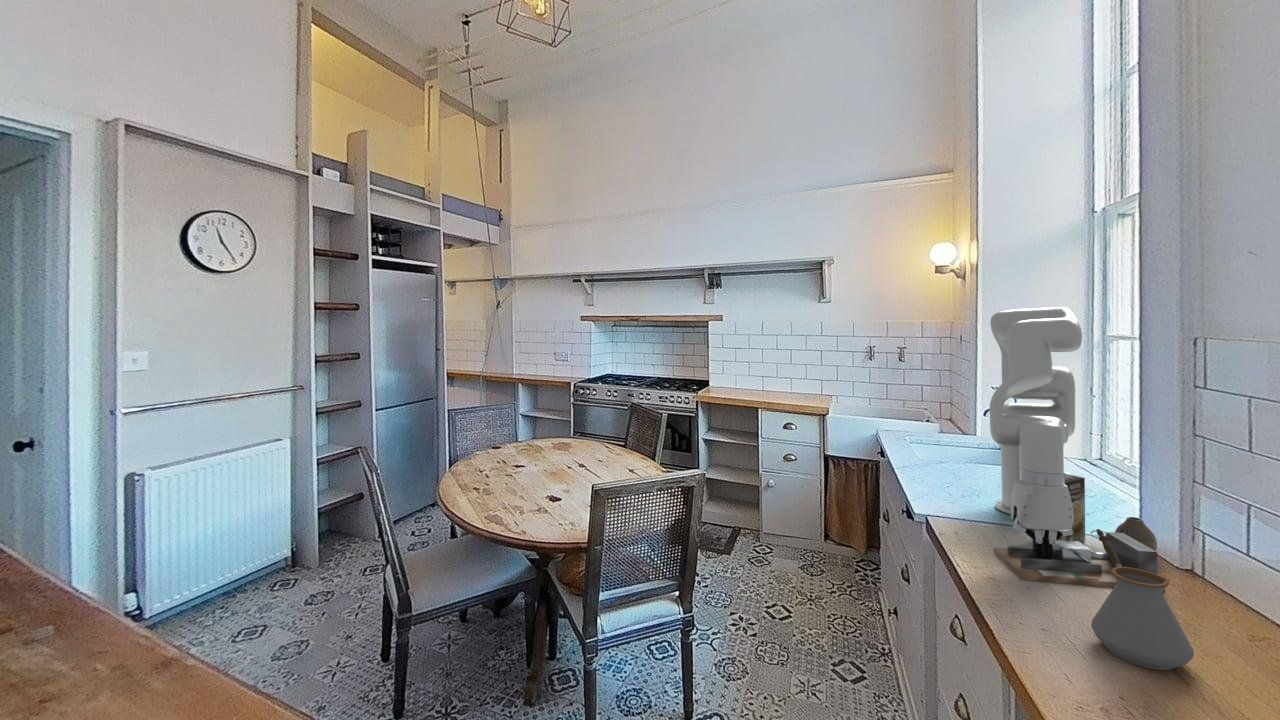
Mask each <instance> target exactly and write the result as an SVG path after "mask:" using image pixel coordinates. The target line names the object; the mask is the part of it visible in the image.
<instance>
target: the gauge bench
mask: <svg viewBox="0 0 1280 720" xmlns="http://www.w3.org/2000/svg"><path fill="white" fill-rule="evenodd" d="M1105 533H1106V534H1105V535H1107V536H1106V537H1107V538H1108V540H1107V541H1108V542H1109V544H1110V545H1111V546H1112V547H1113V549H1114V551H1115V553H1116V555H1117V556H1118V559H1119V561H1120V563H1121V566H1122V567H1130V568H1136V569H1141V570H1145V571H1148V572H1152V573H1154V574H1157V575H1158V551H1154V550H1153V549H1151V548H1149V547H1147V546H1145V545H1144V544H1142V543H1140V542H1138V541H1136V540H1135V539H1133V538H1131V537H1129V536H1127V535H1126V534H1124V533H1115V531H1114V532H1113V531H1105ZM994 552H995V553H994ZM993 553H994V554H995V555H996V556H997V557H998V558H999V559H1000V560H1002V561H1003V562H1004V563H1005V564H1006V566H1008V567H1009V568H1010V570H1012V571H1013V572H1014V573H1015V574H1016V575H1017V576H1018V577H1019V578H1020V579H1021V580H1022V581H1032V582H1044V583H1045V582H1047V583H1057V584H1058V583H1059V584H1071V585H1083V586H1084V585H1086V586H1097V587H1110V588H1114V587H1115V585H1116V584H1117V582H1116V578H1115V576H1114V575H1113V574H1112V573H1111V570H1112V569H1113V568H1115V567H1116V566H1115V565H1114V563H1113V562H1112V561H1101V560H1091V563H1086V562H1077V561H1062V560H1052V557H1051V560H1048V559H1038V558H1037V557H1036V556H1035V555H1034V553H1033V546H1019V545H1017V546H1016V545H1007V547H1006V548H1002V547H1000V548H999V547H993ZM1163 592H1166V588H1165V589H1164V591H1163Z"/></svg>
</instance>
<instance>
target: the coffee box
mask: <svg viewBox="0 0 1280 720" xmlns="http://www.w3.org/2000/svg"><path fill="white" fill-rule="evenodd" d="M1085 479H1086V477H1082V476H1078V475H1074V474H1073V475H1072V474H1071V479H1067V480H1065V483H1064V484H1065V485H1067V487H1068V490H1069V493H1070V497H1071V502H1072V508H1073V518H1074V524H1073V528H1072V531H1073V534H1072V535H1068V536H1061V537H1060V538H1059V539H1058V540H1062V541H1079V542H1080V543H1082V544H1083V543H1085V542H1086V489H1085V488H1086V484H1085V483H1086V482H1085V481H1086V480H1085ZM1041 535H1042V538H1043V530H1041Z"/></svg>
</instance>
